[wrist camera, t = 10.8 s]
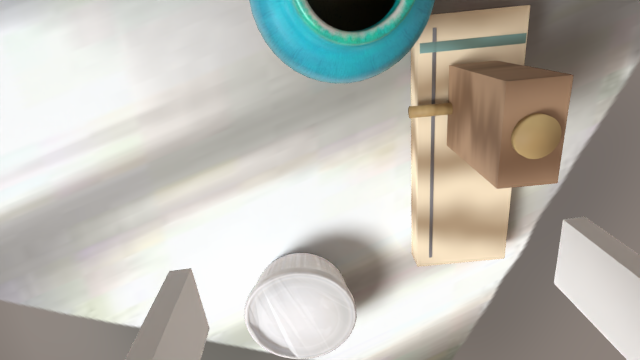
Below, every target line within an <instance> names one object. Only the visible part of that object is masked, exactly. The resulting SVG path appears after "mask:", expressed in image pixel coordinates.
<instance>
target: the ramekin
mask: <svg viewBox="0 0 640 360" xmlns="http://www.w3.org/2000/svg"><path fill="white" fill-rule="evenodd" d="M244 318H245V323H246V326H247V329H248V331H249V333H250V335H251V336H252V337H253V339H254V340H255V341H256V342H257V343H258V344H259V345H260V346H261V347H263V348H264V349H266V350H267V351H269V352H271V353H273V354H276V355H278V356H282V357H286V358H292V359H309V358H315V357H319V356H322V355H325V354H327V353H329V352H331V351H333V350H335V349H336V348H337V347H339V346H340V345H341V344H342V343H343V342H344V341H345V340H346V339H347V338H348V337H349V335H350V334H351V332H352V330H353V328H354V326H355V322H356V318H357V316H356V306H355V301H354V298H353V296H352V294H351V292H350V290H349V289H348V288H347V286H346V284H345V281H344V279H343V277H342V275H341V273H340V272H339V270H338V269H337V268H336V267H335V266H334V265H333V264H332V263H330V262H329V261H328V260H326V259H324V258H323V257H320V256H318V255H314V254H309V253H294V254H288V255H286V256H283V257H281V258H278V259H277V260H275V261H273V262H272V263H271V264H270V265H268V267H267V268H266V269H265V270H264V272H263V273H262V274H261V276H260V278H259V280H258V282H257V284H256V285H255V286H254V288H253V289H252V290H251V292H250V294H249V296H248V298H247V301H246V305H245V312H244Z"/></svg>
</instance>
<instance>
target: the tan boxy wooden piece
mask: <svg viewBox="0 0 640 360" xmlns="http://www.w3.org/2000/svg"><path fill="white" fill-rule="evenodd" d="M572 82H573V75H571V74H566V73H561V72H555V71H550V70H545V69H539V68H534V67H529V66H523V65H518V64H513V63H507V62H502V61H487V62H477V63H467V64H456V65H449V88H448V103H440V104H430V105H420V106H409V108H408V114H409V118H419V117H429V116H439V115H448V119H447V146H448V147H449V148H450V149H451V150H453V151H454V152H455V153H456V154H457V155H458V156H460V157H461V158H462V159H463V160H464V161H465V162H466V163H468V164H469V165H470V166H471V167H472V168H473V169H475V170H476V171H477V172H478V173H479V174H480V175H482V176H483V177H484V178H485V179H486V180H487V181H489V182H490V183H491V184H492V185H493V186H494V187H495V188H497V189H501V188H512V187H522V186H533V185H543V184H553V183H557V182H558V175H559V169H560V162H561V155H562V149H563V142H564V135H565V129H566V122H567V115H568V109H569V102H570V95H571V88H572Z"/></svg>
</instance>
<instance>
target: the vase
mask: <svg viewBox="0 0 640 360" xmlns="http://www.w3.org/2000/svg"><path fill="white" fill-rule="evenodd" d="M249 1H250V5H251V10H252V14H253V17H254V19H255V22H256V25H257V27H258V29H259V31H260V33H261V35H262V37H263V39H264V40H265V42H266V43H267V45H268V46H269V47H270V49H271V50H272V51H273V53H274V54H275V55H276V56H277V57H278V58H279V59H281V60H282V61H283V62H284V63H285V64H286V65H288V66H289V67H290V68H292V69H293V70H295V71H296V72H298V73H300V74H302V75H304V76H306V77H309V78H312V79H315V80H318V81H322V82H329V83H352V82H357V81H362V80H365V79H368V78H371V77H374V76H376V75H378V74H380V73H382V72H384V71H386V70H388V69H389V68H390V67H392V66H393V65H394V64H396V63H397V62H399V61H400V60H401V59H402V58H403V57H404V56H405V55H406V54H407V53H408V52H409V51H410V50H411V48H412V47H413V46H414V44H415V43H416V42H417V40H418V39H419V38H420V36H421V34H422V32H423V30H424V29H425V27H426V25H427V23H428V20H429V17H430V15H431V12H432V9H433V6H434V1H435V0H249Z"/></svg>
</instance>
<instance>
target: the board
mask: <svg viewBox="0 0 640 360" xmlns="http://www.w3.org/2000/svg"><path fill="white" fill-rule="evenodd" d="M529 14H530V5H525V6H513V7H503V8H493V9H483V10H473V11H463V12H453V13H442V14H432V15H430V17H429V20H428V23H427V25H426V27H425V29H424V30H423V32H422V34H421V36H420V38H419V39H418V40H417V42H416V43H415V44H414V46H413V47H412V48H411V106H420V105H430V104H440V103H448V88H449V65H456V64H467V63H477V62H487V61H502V62H507V63H513V64H518V65H523V66H524V62H525V53H526V43H527V33H528V23H529ZM447 119H448V115H439V116H429V117H419V118H411V208H412V255H413V257H414V260H415V262H416V264H417V266H418V267H419V266H430V265H440V264H451V263H461V262H472V261H482V260H493V259H503V258H505V248H506V238H507V228H508V218H509V209H510V199H511V189H512V188H501V189H497V188H495V187H494V186H493V185H492V184H491V183H490V182H489V181H487V180H486V179H485V178H484V177H483V176H482V175H480V174H479V173H478V172H477V171H476V170H475V169H473V168H472V167H471V166H470V165H469V164H468V163H466V162H465V161H464V160H463V159H462V158H461V157H460V156H458V155H457V154H456V153H455V152H454V151H453V150H451V149H450V148H449V147H448V146H447Z"/></svg>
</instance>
